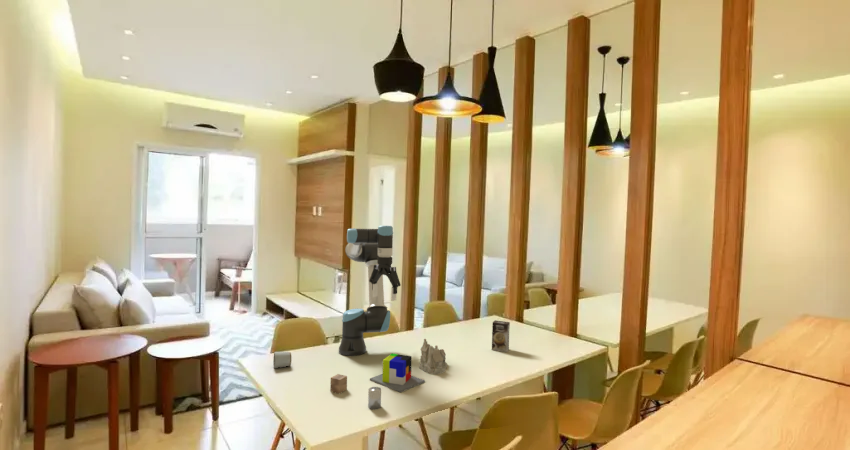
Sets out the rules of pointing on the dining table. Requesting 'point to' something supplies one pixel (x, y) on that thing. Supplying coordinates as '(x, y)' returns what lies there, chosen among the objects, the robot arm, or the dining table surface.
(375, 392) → the grey metal cylinder
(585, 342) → the dining table surface
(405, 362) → the puzzle toy
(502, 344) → the coffee box
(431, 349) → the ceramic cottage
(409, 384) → the charcoal mat
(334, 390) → the walnut block
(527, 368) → the dining table surface
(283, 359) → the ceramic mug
